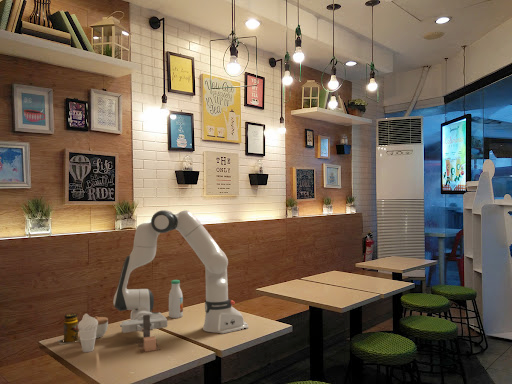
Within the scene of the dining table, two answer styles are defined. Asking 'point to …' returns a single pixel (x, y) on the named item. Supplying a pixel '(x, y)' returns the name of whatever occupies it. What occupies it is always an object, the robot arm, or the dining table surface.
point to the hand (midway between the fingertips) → (146, 329)
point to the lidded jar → (101, 326)
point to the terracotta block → (149, 343)
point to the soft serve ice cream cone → (87, 332)
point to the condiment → (70, 329)
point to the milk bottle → (175, 300)
